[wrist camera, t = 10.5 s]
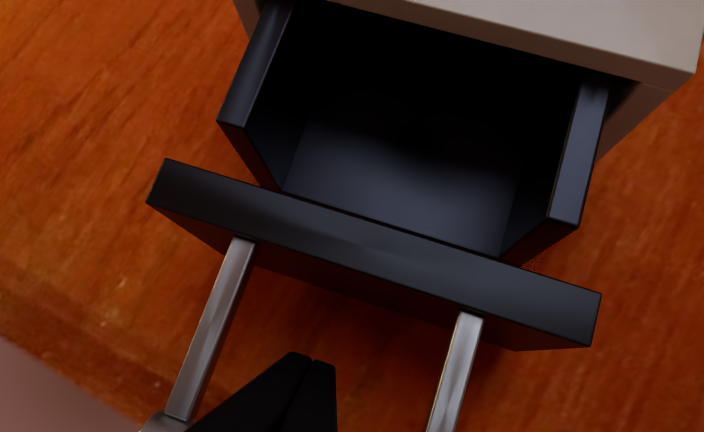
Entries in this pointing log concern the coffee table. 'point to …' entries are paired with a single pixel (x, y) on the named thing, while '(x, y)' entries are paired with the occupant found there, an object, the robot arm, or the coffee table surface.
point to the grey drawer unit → (569, 40)
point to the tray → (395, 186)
